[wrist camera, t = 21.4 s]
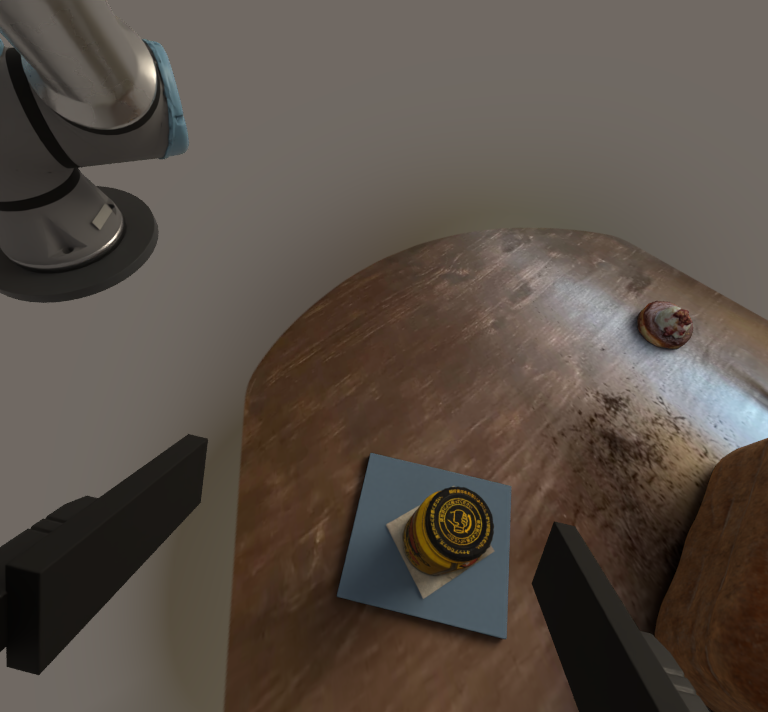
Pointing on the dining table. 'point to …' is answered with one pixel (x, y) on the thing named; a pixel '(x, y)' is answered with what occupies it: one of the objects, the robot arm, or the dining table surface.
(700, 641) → the bread
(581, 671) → the robot arm
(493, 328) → the dining table surface
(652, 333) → the pastry
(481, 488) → the sauce mat
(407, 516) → the condiment
